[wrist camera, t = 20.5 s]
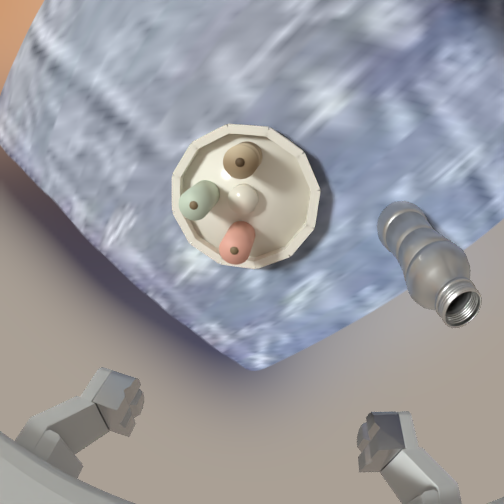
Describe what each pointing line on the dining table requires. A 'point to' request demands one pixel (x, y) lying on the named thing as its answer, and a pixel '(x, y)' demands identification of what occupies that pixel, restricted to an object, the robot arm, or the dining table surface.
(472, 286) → the silver metal bottle
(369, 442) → the robot arm
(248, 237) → the bead
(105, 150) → the dining table surface
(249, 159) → the bead
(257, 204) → the tray
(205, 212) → the bead
